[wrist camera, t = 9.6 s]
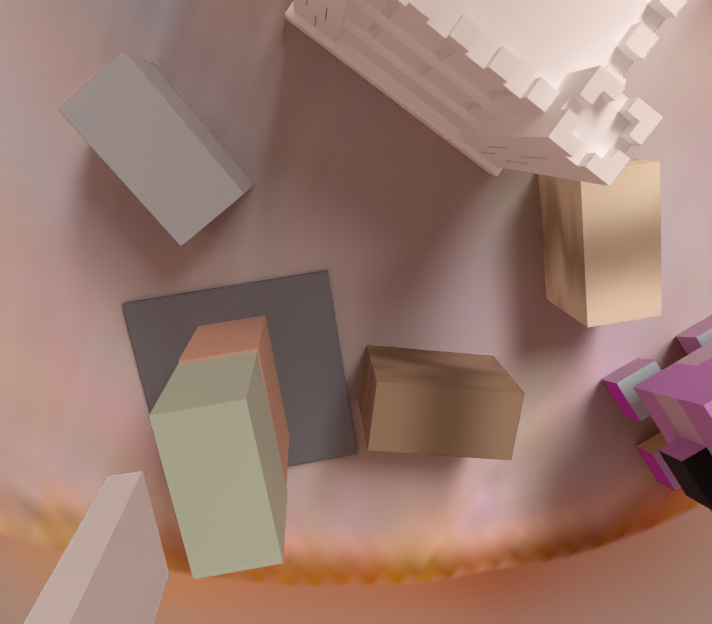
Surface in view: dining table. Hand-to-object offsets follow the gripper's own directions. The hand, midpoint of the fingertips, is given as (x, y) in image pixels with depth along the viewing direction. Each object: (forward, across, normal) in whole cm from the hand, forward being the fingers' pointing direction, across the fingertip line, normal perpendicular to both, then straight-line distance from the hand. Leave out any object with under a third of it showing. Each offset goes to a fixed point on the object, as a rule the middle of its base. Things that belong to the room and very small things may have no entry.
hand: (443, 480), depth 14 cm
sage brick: (+17, -8, -7) cm, 20 cm away
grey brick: (+24, -9, +7) cm, 27 cm away
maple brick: (+24, +13, 0) cm, 28 cm away
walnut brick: (+24, +3, -8) cm, 26 cm away
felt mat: (+24, -8, -7) cm, 26 cm away
